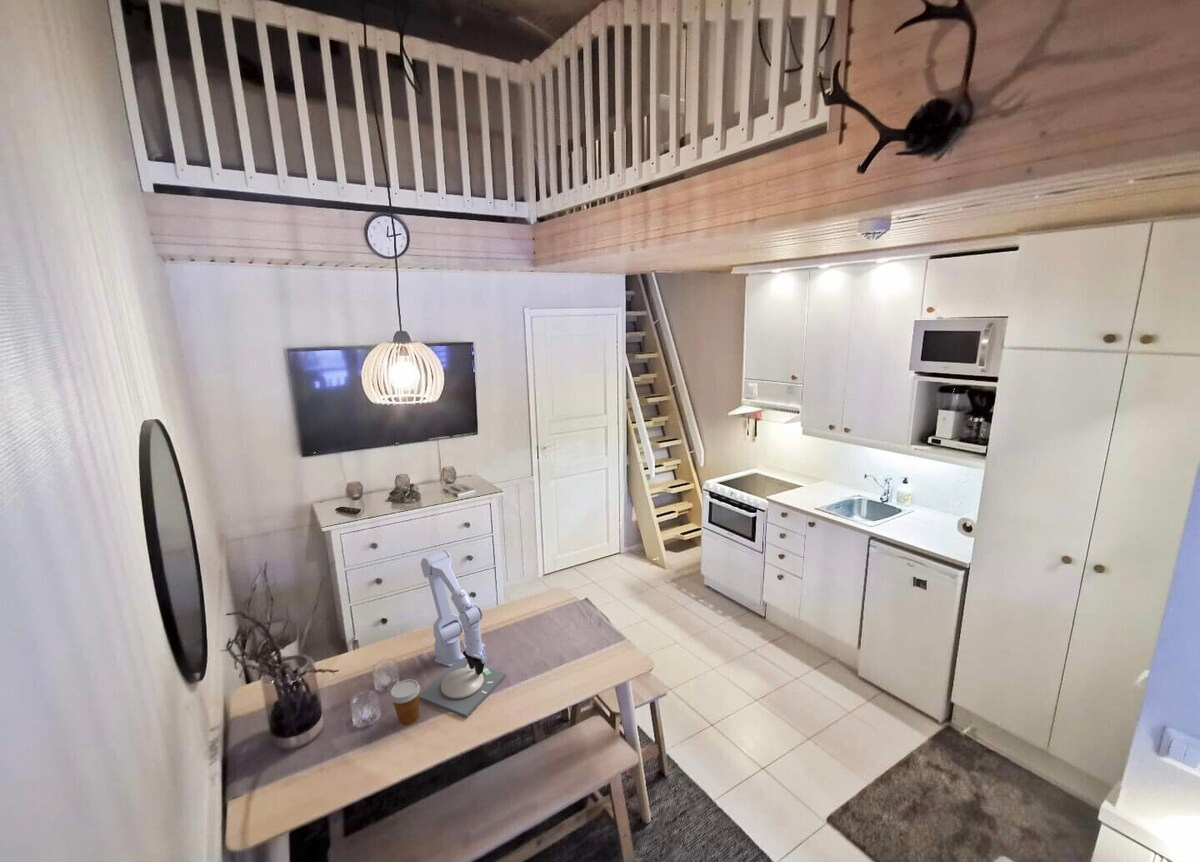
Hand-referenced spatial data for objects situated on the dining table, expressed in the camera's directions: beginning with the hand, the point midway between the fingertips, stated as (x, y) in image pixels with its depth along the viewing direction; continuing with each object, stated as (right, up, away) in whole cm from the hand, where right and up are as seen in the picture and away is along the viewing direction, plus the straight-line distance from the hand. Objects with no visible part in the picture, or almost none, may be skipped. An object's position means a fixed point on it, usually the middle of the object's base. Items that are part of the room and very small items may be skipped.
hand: (476, 670), depth 196 cm
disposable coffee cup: (-19, -9, -16) cm, 27 cm away
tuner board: (-4, -5, -3) cm, 7 cm away
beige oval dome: (-3, -3, -3) cm, 5 cm away
